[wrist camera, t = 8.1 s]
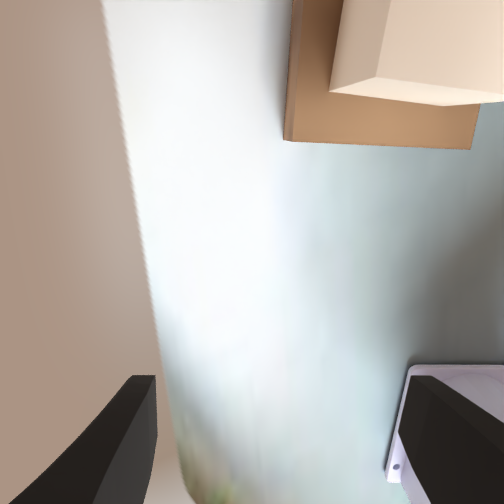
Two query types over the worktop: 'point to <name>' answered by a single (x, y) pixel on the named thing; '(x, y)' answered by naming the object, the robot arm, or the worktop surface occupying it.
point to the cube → (421, 51)
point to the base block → (356, 96)
